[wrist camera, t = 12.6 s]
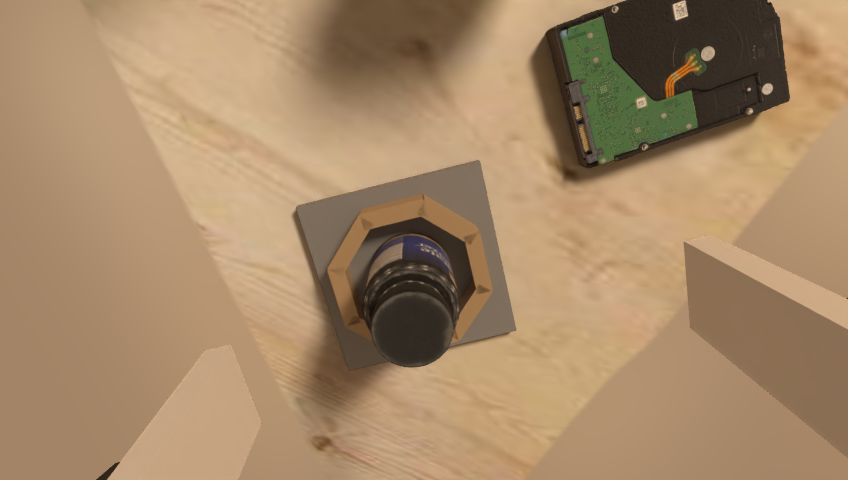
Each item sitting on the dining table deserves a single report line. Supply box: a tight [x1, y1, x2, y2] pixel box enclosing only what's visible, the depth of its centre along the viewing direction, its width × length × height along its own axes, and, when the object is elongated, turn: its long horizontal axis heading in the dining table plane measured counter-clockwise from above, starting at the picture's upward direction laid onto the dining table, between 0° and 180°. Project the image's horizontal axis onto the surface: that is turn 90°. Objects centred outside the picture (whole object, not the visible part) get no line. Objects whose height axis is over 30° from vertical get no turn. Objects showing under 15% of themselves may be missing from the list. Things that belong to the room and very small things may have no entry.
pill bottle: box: [363, 232, 460, 367], centre depth 33 cm, size 6×6×11 cm
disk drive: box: [546, 0, 790, 168], centre depth 35 cm, size 10×3×15 cm
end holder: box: [296, 160, 516, 371], centre depth 38 cm, size 14×14×3 cm
